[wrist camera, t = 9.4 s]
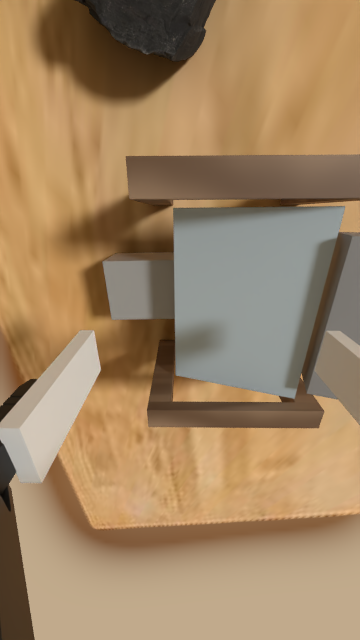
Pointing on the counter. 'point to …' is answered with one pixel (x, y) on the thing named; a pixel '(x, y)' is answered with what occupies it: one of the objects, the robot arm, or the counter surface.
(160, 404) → the trapdoor frame
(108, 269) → the grey rectangular block
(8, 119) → the counter surface
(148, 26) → the rock
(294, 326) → the trapdoor
